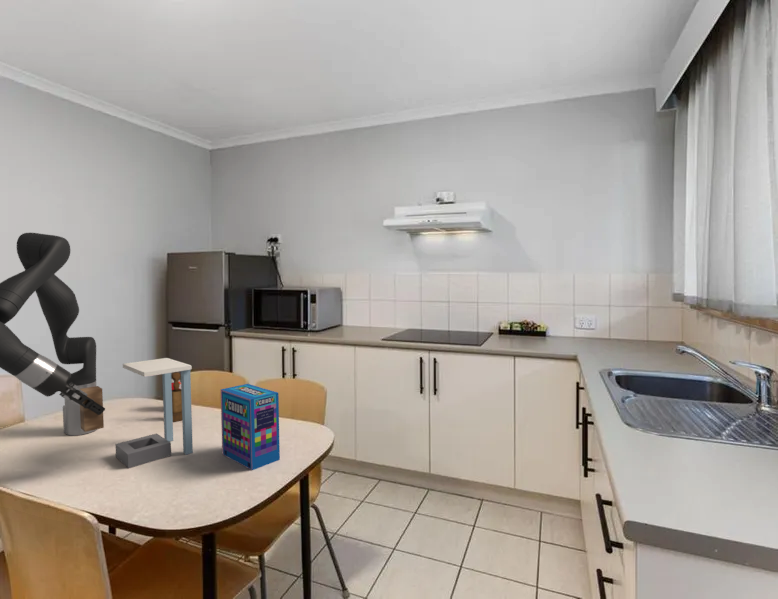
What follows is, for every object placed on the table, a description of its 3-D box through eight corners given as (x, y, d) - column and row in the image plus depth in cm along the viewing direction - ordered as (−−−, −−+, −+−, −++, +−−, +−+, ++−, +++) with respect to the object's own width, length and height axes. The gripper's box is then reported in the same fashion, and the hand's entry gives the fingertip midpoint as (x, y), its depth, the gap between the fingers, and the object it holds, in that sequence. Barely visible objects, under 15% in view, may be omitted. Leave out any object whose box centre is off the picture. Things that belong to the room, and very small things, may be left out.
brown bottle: (181, 421, 159) (179, 374, 158) (164, 421, 159) (162, 374, 158) (189, 416, 166) (188, 370, 165) (173, 416, 166) (171, 370, 165)
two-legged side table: (147, 467, 120) (144, 372, 119) (125, 449, 133) (122, 363, 132) (194, 453, 130) (191, 365, 128) (169, 438, 143) (167, 357, 141)
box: (222, 454, 129) (220, 389, 128) (249, 445, 136) (247, 383, 135) (252, 470, 118) (250, 399, 117) (279, 459, 125) (278, 392, 124)
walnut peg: (84, 431, 115) (83, 391, 115) (80, 428, 118) (79, 389, 118) (103, 427, 118) (102, 388, 118) (99, 424, 121) (97, 386, 121)
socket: (128, 468, 120) (127, 454, 120) (115, 457, 128) (115, 443, 127) (171, 455, 128) (170, 442, 128) (157, 445, 136) (156, 433, 136)
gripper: (61, 366, 107) (118, 403, 116) (50, 359, 117) (103, 394, 126) (35, 391, 103) (96, 427, 113) (25, 382, 113) (82, 416, 122)
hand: (99, 409), depth 119 cm, fingers closed on walnut peg, 4 cm apart
